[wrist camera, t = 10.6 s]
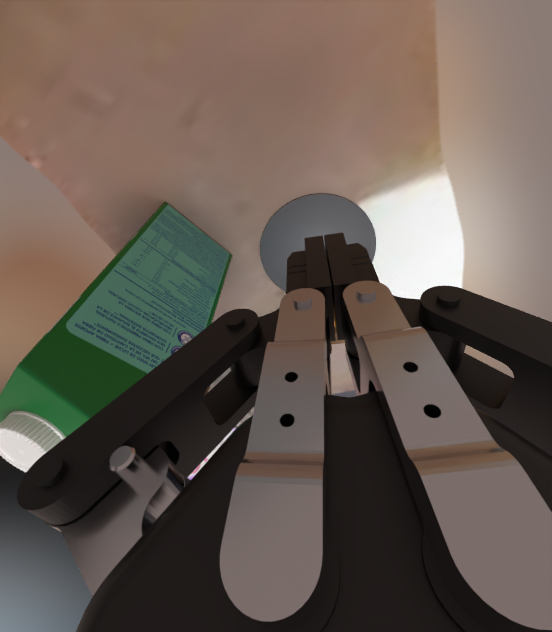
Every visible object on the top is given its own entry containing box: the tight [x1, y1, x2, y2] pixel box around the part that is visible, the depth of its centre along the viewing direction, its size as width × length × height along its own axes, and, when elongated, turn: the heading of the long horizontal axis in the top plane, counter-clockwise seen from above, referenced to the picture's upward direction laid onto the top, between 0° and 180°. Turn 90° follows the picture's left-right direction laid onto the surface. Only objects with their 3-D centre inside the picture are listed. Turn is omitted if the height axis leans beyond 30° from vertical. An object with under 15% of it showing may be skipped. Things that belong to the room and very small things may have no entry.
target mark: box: [260, 194, 376, 291], centre depth 35 cm, size 13×13×1 cm
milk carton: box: [0, 202, 232, 472], centre depth 27 cm, size 9×9×25 cm
